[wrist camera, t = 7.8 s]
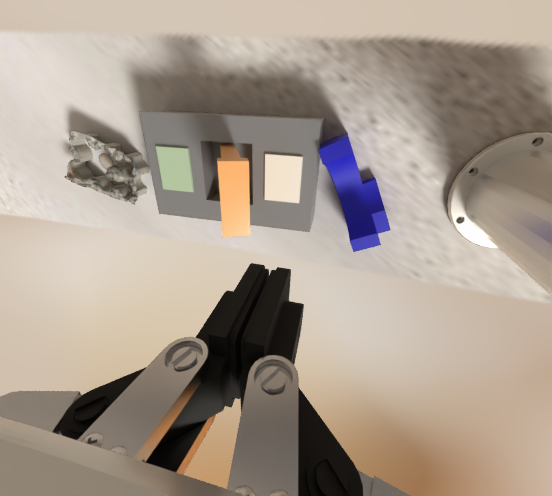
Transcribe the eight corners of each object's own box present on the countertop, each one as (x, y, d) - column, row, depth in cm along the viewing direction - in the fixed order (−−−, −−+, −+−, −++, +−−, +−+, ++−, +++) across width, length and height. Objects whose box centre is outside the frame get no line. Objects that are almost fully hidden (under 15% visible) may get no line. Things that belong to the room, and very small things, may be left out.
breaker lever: (237, 141, 31) (248, 161, 20) (239, 194, 34) (250, 235, 23) (216, 141, 30) (217, 161, 20) (220, 195, 33) (223, 236, 23)
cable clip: (386, 220, 33) (395, 241, 28) (351, 230, 35) (353, 251, 30) (360, 126, 29) (364, 130, 24) (322, 143, 31) (318, 150, 26)
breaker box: (324, 117, 29) (321, 119, 25) (313, 216, 35) (309, 233, 31) (165, 111, 33) (137, 111, 28) (179, 201, 39) (157, 214, 34)
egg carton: (85, 171, 40) (60, 177, 37) (86, 123, 36) (59, 124, 33) (146, 203, 40) (127, 212, 37) (154, 158, 37) (134, 163, 33)
